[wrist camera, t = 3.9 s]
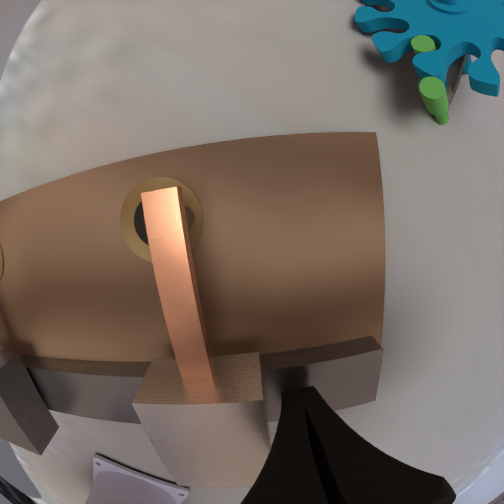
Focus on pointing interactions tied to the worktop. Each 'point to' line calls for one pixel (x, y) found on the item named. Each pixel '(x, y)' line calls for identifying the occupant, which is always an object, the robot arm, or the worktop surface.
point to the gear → (440, 43)
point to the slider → (197, 372)
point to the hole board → (201, 251)
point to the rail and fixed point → (132, 373)
